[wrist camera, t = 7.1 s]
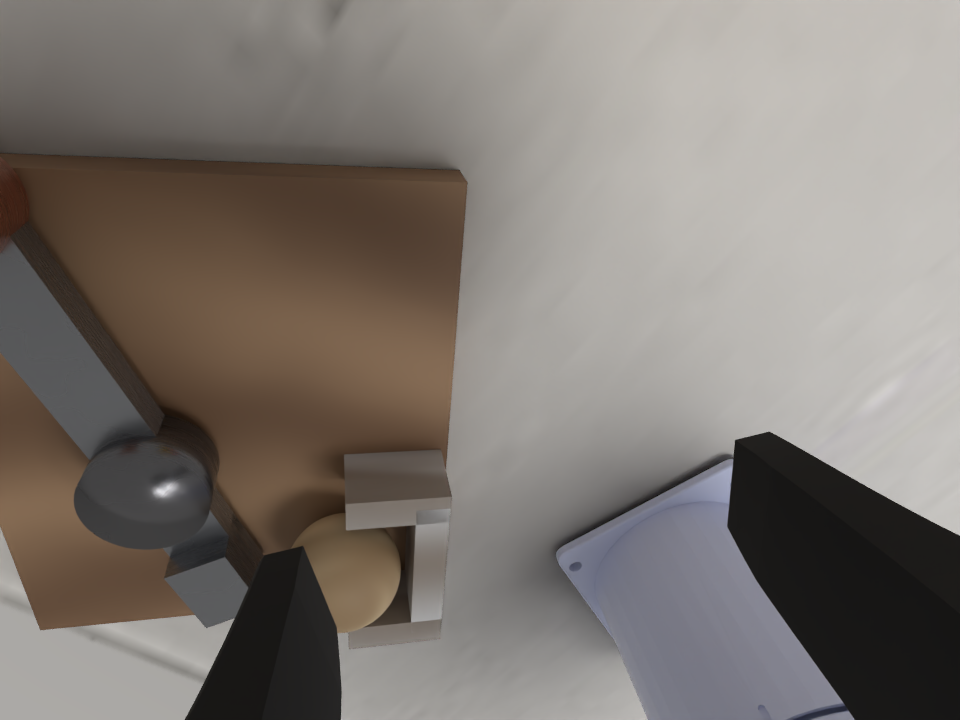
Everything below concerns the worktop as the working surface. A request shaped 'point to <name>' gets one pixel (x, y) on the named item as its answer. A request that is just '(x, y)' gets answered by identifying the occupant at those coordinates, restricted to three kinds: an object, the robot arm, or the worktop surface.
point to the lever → (118, 427)
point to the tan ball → (352, 569)
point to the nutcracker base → (251, 364)
